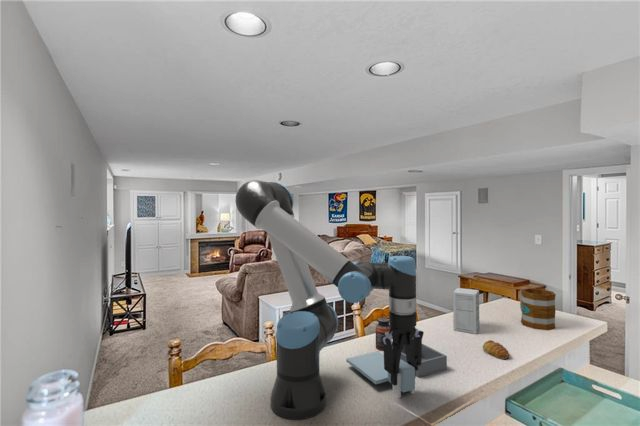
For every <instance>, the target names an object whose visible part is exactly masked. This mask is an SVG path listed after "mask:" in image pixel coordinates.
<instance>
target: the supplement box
mask: <svg viewBox="0 0 640 426" xmlns="http://www.w3.org/2000/svg"><path fill="white" fill-rule="evenodd" d="M452 292H453V293H452V294H453V295H452V296H453V297H452V301H453V306H452V307H453V308H452V311H453V315H452V316H453V317H452V318H453V331H455V332H459V333H460V332H462V333H468V334H473V335H477V334H478V332H479V331H480V290H479V289H471V288H461V287H457V288H456V289H455V290H454V291H452Z"/></svg>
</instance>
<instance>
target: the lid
mask: <svg viewBox="0 0 640 426" xmlns="http://www.w3.org/2000/svg"><path fill="white" fill-rule="evenodd" d="M345 359H346V361H345V362H346V363H348V365H350V366H352V367H353V368H354V369H355V370H357V372H359V373H360V374H362V375H363V376H364V377H365V378H367V379H368V380H369V381H370V382H372V383H373V384H374V385H379V384H383V383H386V382H389V383H390V384H391V374H390V373H389V372H387V371H386V370H385V369H384V353H381V351H379V350H377V351H373V352H369V353H364V354H360V355H356V356H351V357H347V358H345ZM398 373H400V374H401V393H406V392H409V391H410V390H413V389H414V390H415V389H416V376H415V368H414V367H413V366H411V365H409V364H408V363H406V362H404V361H403V360H401V359H400V364H399V371H398Z"/></svg>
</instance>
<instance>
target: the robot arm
mask: <svg viewBox="0 0 640 426" xmlns="http://www.w3.org/2000/svg"><path fill="white" fill-rule="evenodd" d="M235 205H236V208H237V211H238V212H239V214H240V215H241V216H242V217H243V218H244V219H245V220H246V221H247V222H249V223H250V224H251V225H252V226H254V228H256V229H258V230H260V229H261V230H263V231H265V232H266V233H267V237H268V239H269V242H270V244H271V248H272V251H273V253H274V256H275V259H276V261H277V264H278V267H279V270H280V273H281V276H282V277H283V280H284V283H285V285H286V286H285V287H286V288H287V292H288V294H289V297H290V300H291V306H290V308H289V312H290V313H287V314H286V313H285V315H283V316H282V317H281V318H279V320H278V321H277V324H276V332H275V340H276V343H275V344H276V377H275V380H274V384H273V387H272V390H271V394H270V408H271V410H272V411H273V413H274V414H275V415H277V416H279V417H281V418H285V419H288V420H289V419H291V420H302V419H303V420H304V419H308V418H312V417H314V416H316V415H318V414H320V413H321V412H323V410H324V409H325V407H326V405H327V393H326V389H325V386H324V383H323V381H322V377H321V374H320V352H321V351H322V350H323V349H324V347H326V345H327V344H328V343H329V342H330V341H331V340H333V338H334V337H335V334H336V332H337V330H338V326H339V318H338V314H337V312H336V310H335V309H334V308H333V307H332V306H331V305H329V304H328V302H327V300H326V297H325V296H324V295H323V294H320V293H319V292H318V289H317V287H316V283H315V281H314V278H313V275H312V273H311V270H310V267H311V268H312V269H314V270H315V271H317V272H318V274H320V275H322V276H323V277H324V278H325V279H326V280H328V281H329V282H330V283H331V284H332V285H334V286H335V287H336V288H337V291H338V294H339V295H340V297H341V299H342V300H344V301H345V302H348V303H350V304H357V303H360V302H361V301H363V300H365V299H366V298H368V297H369V295H370V294H371V292H372V291H373V290H375V289H376V290H388V309H389V310H390V311H389V312H388V313H389V314H388V319H389V325H390V327H391V328H390V331H389V335H387V336H386V337H385V336H382V337H381V340H382V342H383V350H384V351H383V355H384V369H385V370H386V371H387V372H389V373H390V374H391V383H390V384H391V385H392V394H393V395H394V396H395V397H396V398H398V399H400V398H402V391H401V374H400V373H398V371H399V364H400V358H401V351H402V350H403V346H404V347H405V352H406V358H407V363H408V364H409V365H411V366H413V367H414V368H415V370H416V371H417V370H418V367H417V366H420V365H421V357H422V344H423V336H424V331H423V330H420V329H419V328H417V313H416V311H417V267H416V266H417V263H416V260H415V258H414V257H412V256H410V255H409V256H407V255H391V256H390V257H388V261H387V262H370V261H368V262H367V261H360V260H359V261H351V260H350V259H349V258H348V257H346V256H345V255H343V254H342V253H341V252H340V251H338V250H337V249H336V248H335V247H333V246H331V245H330V244H329V243H327V242H326V241H325V240H324V239H322V238H321V237H320V236H318V235H317V234H316V233H314V232H313V231H312V230H310V229H309V228H308V227H307V226H305V225H303V223H301V222H300V221H298V219H296V218H295V214H294V211H293V207H294V196H293V194H292V192H291V191H290V189H288V188H287V186H285V185H284V184H281V183H279V182H273V181H270V182H269V181H262V180H258V179H257V180H254V179H253V180H248V181H247V182H245V183H243V184H242V185H241V186H240V187H239V188H238V190H237V192H236V195H235ZM392 346H393V349H392ZM408 392H409V393H410V394H411V395H413V394H415V389H413V390H410V391H408Z"/></svg>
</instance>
